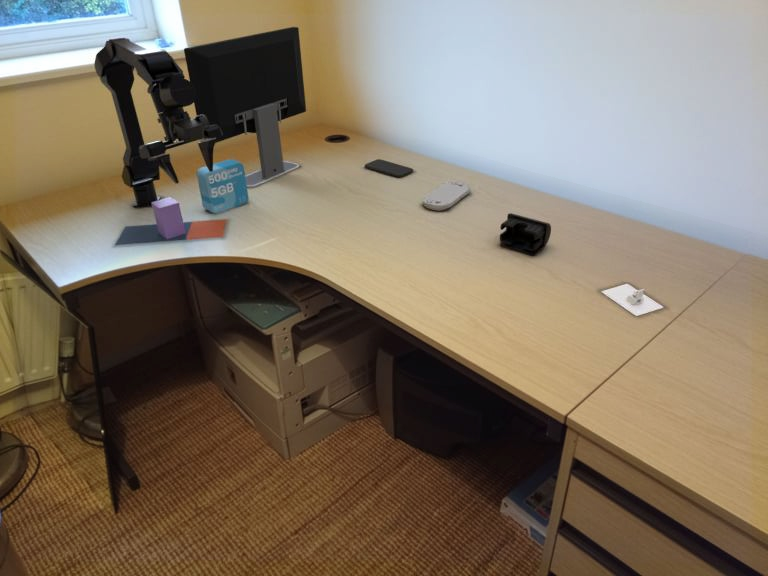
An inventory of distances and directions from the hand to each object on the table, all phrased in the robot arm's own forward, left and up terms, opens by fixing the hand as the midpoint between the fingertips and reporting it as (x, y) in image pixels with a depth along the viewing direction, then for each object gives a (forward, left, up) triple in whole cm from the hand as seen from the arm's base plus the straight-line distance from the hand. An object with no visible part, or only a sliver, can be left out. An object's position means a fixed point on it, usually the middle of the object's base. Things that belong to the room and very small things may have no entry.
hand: (194, 177), depth 139 cm
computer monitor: (-42, +13, -16) cm, 47 cm away
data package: (-19, +3, -16) cm, 25 cm away
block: (-3, -9, -16) cm, 18 cm away
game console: (-13, +64, -16) cm, 67 cm away
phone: (-39, +51, -16) cm, 66 cm away
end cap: (+17, +76, -16) cm, 80 cm away
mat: (-4, -9, -16) cm, 19 cm away
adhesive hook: (+43, +90, -16) cm, 101 cm away
